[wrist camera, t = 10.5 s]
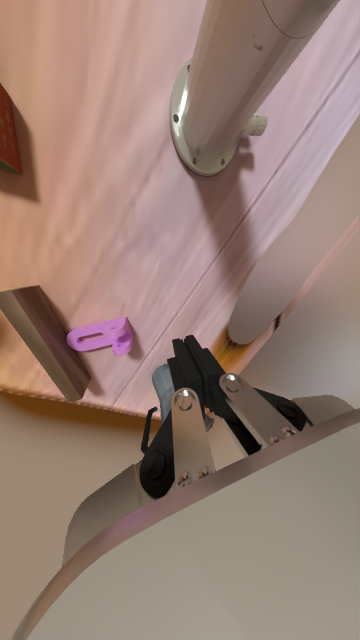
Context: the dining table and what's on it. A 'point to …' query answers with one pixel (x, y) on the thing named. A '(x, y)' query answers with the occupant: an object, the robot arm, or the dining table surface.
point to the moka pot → (164, 401)
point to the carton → (8, 137)
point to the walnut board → (45, 339)
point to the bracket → (113, 334)
